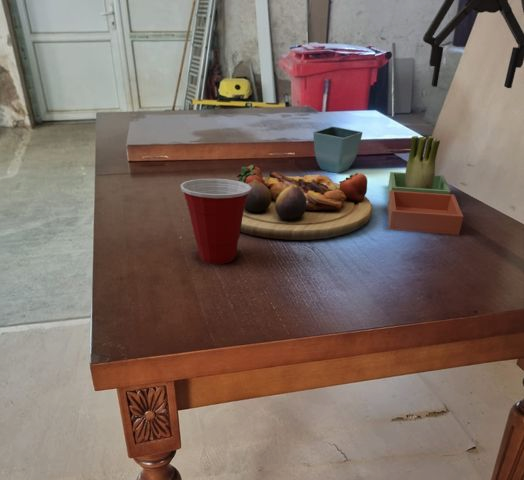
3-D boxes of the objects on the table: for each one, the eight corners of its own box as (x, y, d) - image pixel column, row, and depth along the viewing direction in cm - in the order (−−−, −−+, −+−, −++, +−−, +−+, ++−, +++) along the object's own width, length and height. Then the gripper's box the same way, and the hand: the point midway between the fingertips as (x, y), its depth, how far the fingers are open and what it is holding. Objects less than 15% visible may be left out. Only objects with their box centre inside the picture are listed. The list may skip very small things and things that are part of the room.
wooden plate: (370, 192, 116) (375, 153, 111) (373, 249, 90) (380, 202, 85) (228, 182, 119) (227, 144, 115) (191, 235, 93) (189, 189, 89)
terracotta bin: (450, 212, 106) (454, 194, 104) (458, 235, 96) (463, 216, 94) (387, 207, 108) (389, 190, 106) (388, 229, 97) (392, 211, 95)
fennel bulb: (399, 192, 114) (408, 134, 107) (416, 189, 116) (427, 132, 109) (416, 200, 110) (428, 140, 103) (435, 197, 112) (447, 138, 105)
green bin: (440, 191, 117) (443, 175, 115) (446, 208, 108) (450, 191, 106) (387, 187, 119) (390, 171, 117) (389, 204, 109) (392, 187, 107)
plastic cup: (260, 249, 89) (261, 177, 82) (236, 275, 81) (236, 198, 74) (201, 240, 92) (198, 170, 85) (173, 264, 83) (167, 189, 77)
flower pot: (340, 177, 125) (344, 137, 120) (309, 170, 129) (312, 131, 124) (358, 169, 130) (363, 131, 125) (329, 163, 135) (332, 126, 130)
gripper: (424, -54, 87) (405, 87, 99) (584, -56, 84) (544, 90, 96) (420, -50, 94) (403, 82, 105) (569, -52, 90) (533, 85, 102)
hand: (470, 86), depth 101 cm, fingers open, 13 cm apart
